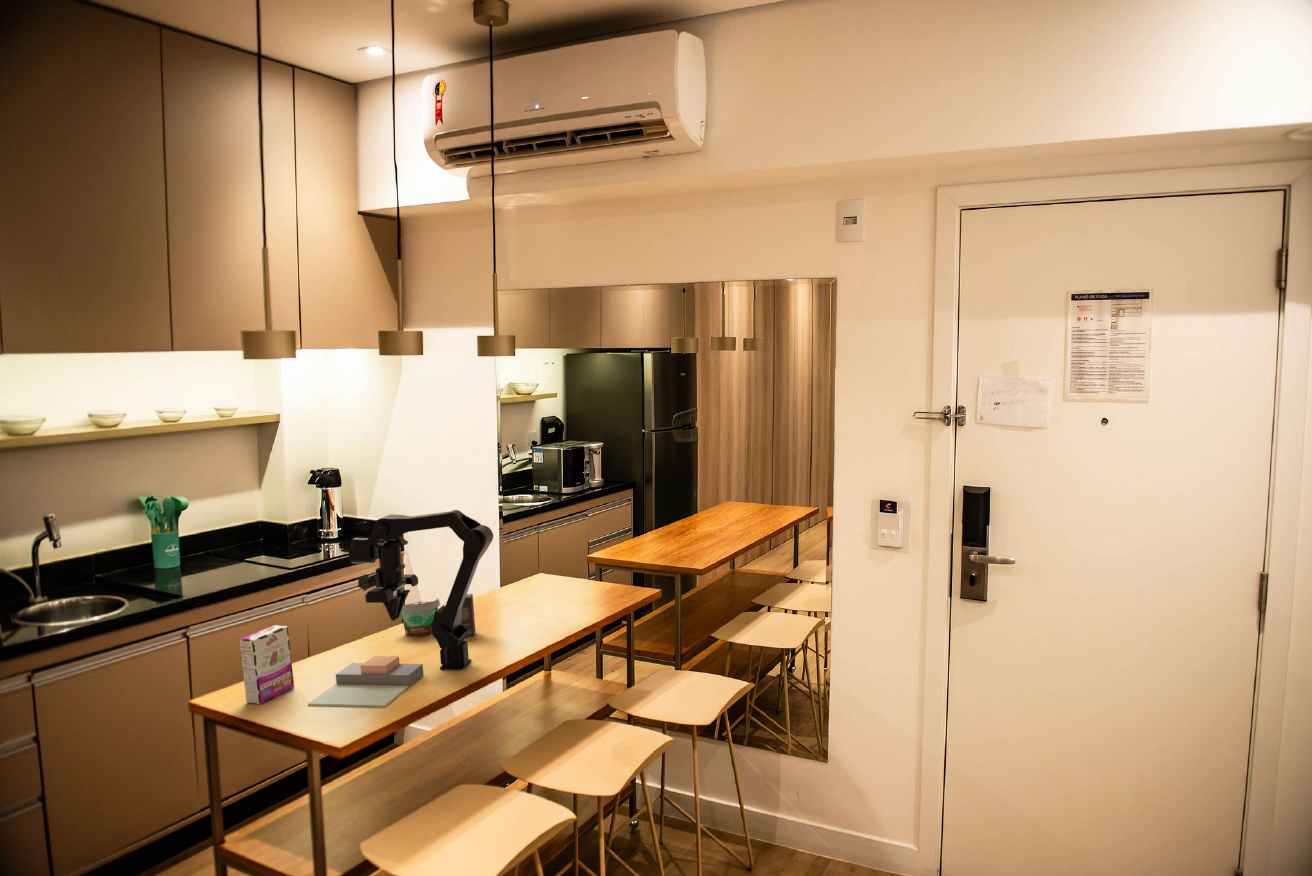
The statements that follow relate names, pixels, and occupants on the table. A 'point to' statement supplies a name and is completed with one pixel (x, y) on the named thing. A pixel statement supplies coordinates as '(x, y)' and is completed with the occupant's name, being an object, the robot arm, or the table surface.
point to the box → (468, 614)
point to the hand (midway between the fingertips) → (395, 619)
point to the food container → (419, 618)
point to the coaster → (380, 664)
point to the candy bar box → (266, 664)
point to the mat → (358, 695)
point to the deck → (380, 675)
